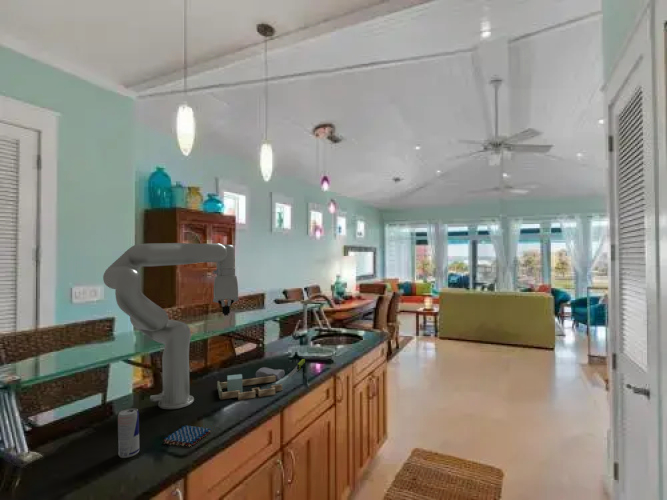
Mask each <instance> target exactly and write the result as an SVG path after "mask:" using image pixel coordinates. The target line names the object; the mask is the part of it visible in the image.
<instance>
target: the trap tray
mask: <svg viewBox="0 0 667 500" xmlns="http://www.w3.org/2000/svg"><path fill="white" fill-rule="evenodd" d="M274 382H277V381H276V376H268V377H260V378H256V377H253V378H247V379H242V386H243V387H245V386H252V385H258V384H261V385H262V384H267V383H274ZM216 383H217V392H218V397H219V399H220V400H227V399H228V400H229V399H232V398H233V399H234V398H237V400H238V401H241V400H247V399H253V398H256V395H257V396H258V397H261V398H262V397H267V396H274V395H276V392H281V391H283V384H282V383H281V384H274V385H270V388H264V389H260V387H253V388H251V391H249V390H248V391H243V392H242V393H240V391H239V390H237V391H230V392H228V391H224V392H223V389H227V381H224V382H220V380H217V382H216Z"/></svg>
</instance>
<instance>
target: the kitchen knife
mask: <svg viewBox="0 0 667 500" xmlns="http://www.w3.org/2000/svg"><path fill="white" fill-rule="evenodd" d="M305 362H306V359H305V358H302V359H301V360H300V361H299V362H298V363H297V364H296V366H295V367H294V368H293V369H292V370H291V371H290V372H289V374H288V375H287V376H288V377H289V378H291V377H293V375H295V373H297V372H298V371H301V367H302V366H303V365H304V364H305Z"/></svg>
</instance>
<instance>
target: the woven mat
mask: <svg viewBox="0 0 667 500" xmlns="http://www.w3.org/2000/svg"><path fill="white" fill-rule="evenodd" d="M209 432H212V431H211V428H210V427H209V428H207V427H199V426H195V425H194V426H191V425H184V426H182V427H181V428H178V430H175V431H174V432H172V433H171V434H169V435H168V436H167V437H164V439H163V442H164V443H162V444H164V445H165V444H167V445H170V446H171V445H176V446H180V445H181V446H182V447H185V446H187V445H188V446H187V447H189V448H191V447H192V446H191V445H193V446H195V445H196V444H197V443H198V442H199V441H201V440H202V439H204V438H205V437H206V436H208V435H209V434H210V433H209ZM207 434H208V435H207ZM203 437H204V438H203ZM201 438H202V439H201ZM198 440H199V441H198ZM196 441H198V442H196ZM184 445H185V446H184ZM190 446H191V447H190Z"/></svg>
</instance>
